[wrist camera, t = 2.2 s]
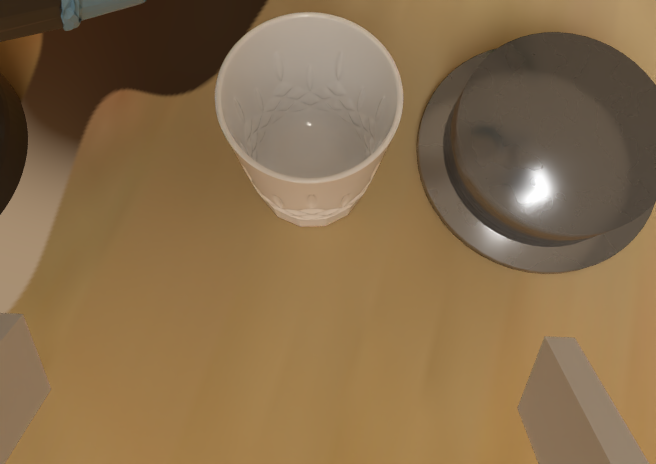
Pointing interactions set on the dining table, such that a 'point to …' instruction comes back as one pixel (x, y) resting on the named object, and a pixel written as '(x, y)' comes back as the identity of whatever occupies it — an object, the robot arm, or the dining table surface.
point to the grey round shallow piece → (542, 152)
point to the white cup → (309, 112)
